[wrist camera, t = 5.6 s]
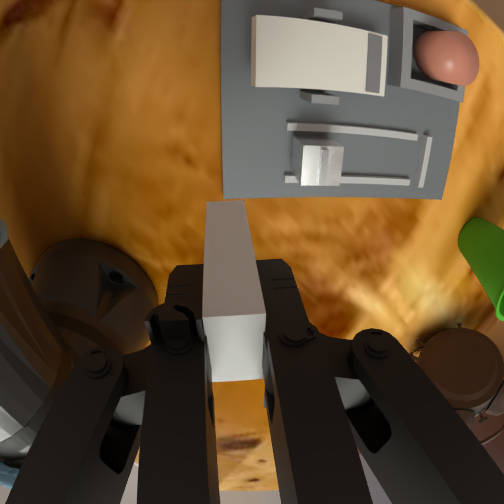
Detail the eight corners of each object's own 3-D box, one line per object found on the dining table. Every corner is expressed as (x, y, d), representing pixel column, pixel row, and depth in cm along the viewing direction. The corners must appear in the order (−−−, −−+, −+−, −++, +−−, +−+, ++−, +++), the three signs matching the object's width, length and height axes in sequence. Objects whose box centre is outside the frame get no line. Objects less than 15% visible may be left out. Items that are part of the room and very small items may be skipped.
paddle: (250, 86, 19) (256, 87, 18) (251, 17, 16) (257, 14, 15) (375, 94, 21) (385, 96, 20) (378, 36, 19) (388, 35, 18)
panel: (223, 194, 27) (224, 216, 24) (221, -14, 17) (222, -29, 14) (436, 195, 29) (459, 214, 26) (457, 30, 19) (486, 31, 16)
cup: (440, 223, 31) (499, 282, 22) (493, 190, 29) (554, 237, 20) (448, 276, 36) (493, 334, 27) (496, 244, 34) (544, 293, 25)
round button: (412, 74, 20) (436, 78, 17) (414, 25, 17) (439, 23, 15) (451, 85, 20) (477, 91, 17) (454, 39, 18) (480, 41, 15)
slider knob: (290, 170, 25) (302, 187, 22) (292, 134, 24) (304, 146, 20) (325, 170, 26) (341, 187, 22) (328, 136, 24) (346, 148, 21)
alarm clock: (394, 366, 45) (439, 471, 29) (399, 339, 41) (454, 456, 25) (464, 337, 45) (516, 426, 28) (474, 308, 41) (537, 404, 24)
